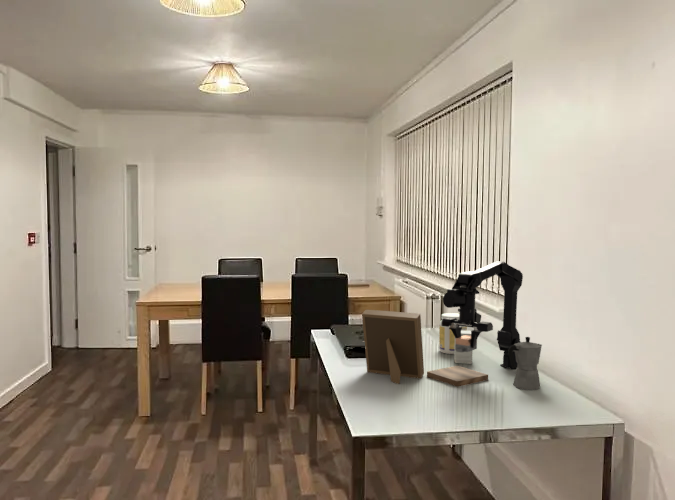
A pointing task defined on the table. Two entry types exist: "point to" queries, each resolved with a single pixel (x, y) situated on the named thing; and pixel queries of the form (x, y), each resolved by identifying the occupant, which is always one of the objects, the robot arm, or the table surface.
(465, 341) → the block
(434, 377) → the walnut stand
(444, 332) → the supplement tub
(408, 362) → the photo frame
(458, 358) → the supplement box
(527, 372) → the coffeepot
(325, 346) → the table surface
